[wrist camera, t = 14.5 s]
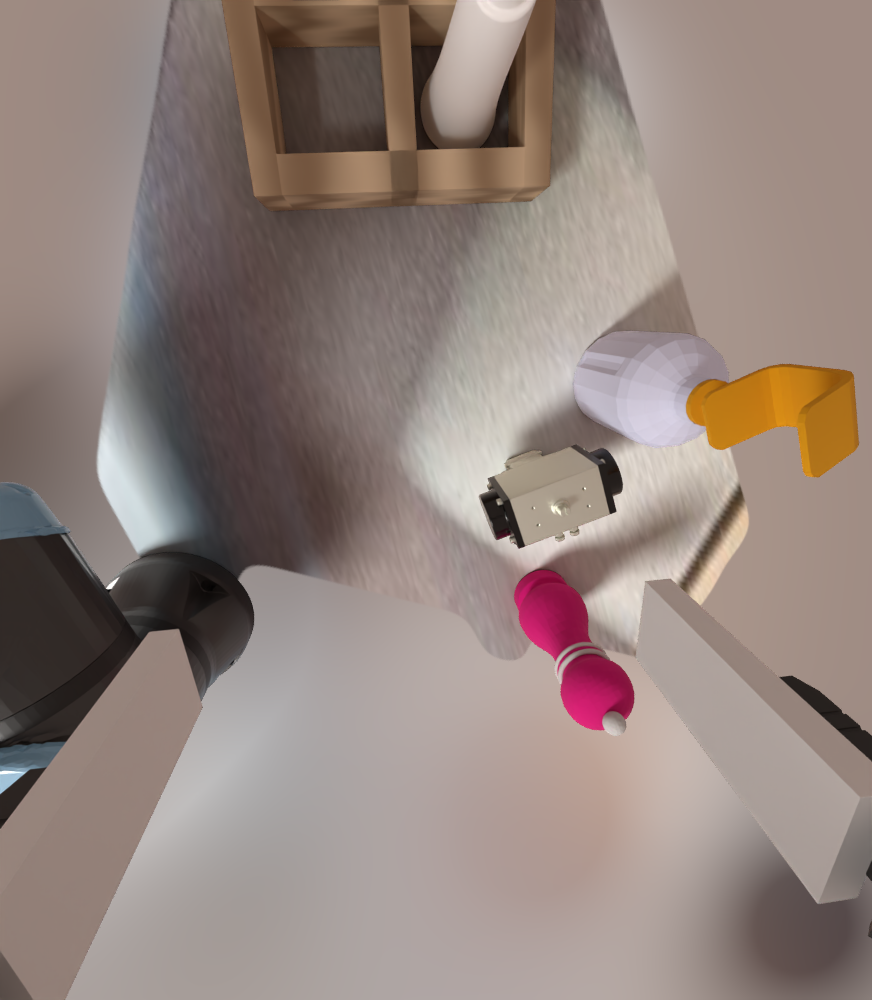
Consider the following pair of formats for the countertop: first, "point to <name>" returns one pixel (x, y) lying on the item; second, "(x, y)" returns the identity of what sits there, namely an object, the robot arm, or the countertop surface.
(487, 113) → the cosmetic bottle
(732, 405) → the soap bottle
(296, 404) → the countertop surface
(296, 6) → the wooden compartment tray
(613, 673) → the pepper mill
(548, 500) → the pneumatic valve
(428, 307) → the countertop surface
